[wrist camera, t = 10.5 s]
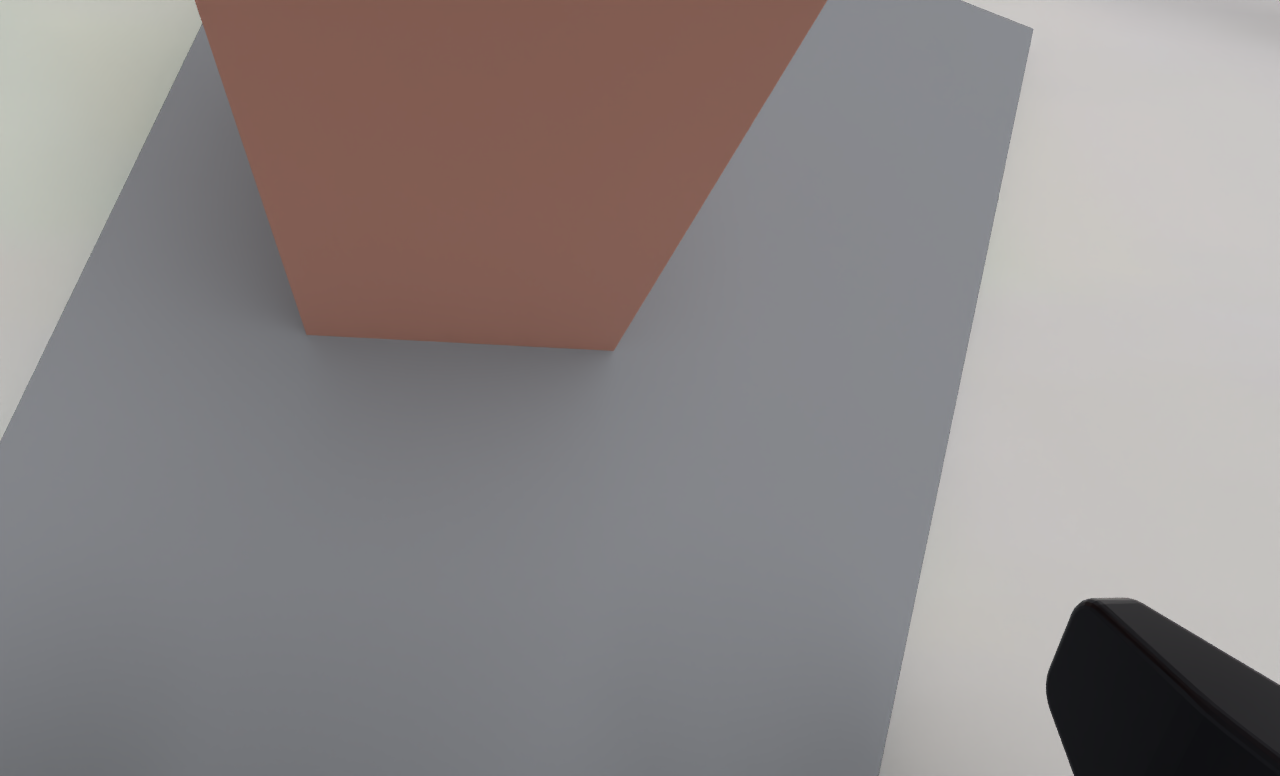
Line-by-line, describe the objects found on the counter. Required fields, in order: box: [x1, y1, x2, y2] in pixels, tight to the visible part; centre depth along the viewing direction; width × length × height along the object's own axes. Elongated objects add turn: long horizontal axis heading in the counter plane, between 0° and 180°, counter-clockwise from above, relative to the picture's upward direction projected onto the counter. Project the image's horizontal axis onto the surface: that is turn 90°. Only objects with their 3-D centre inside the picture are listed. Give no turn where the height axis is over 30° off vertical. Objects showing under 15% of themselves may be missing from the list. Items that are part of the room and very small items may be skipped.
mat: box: [0, 0, 1033, 776], centre depth 16 cm, size 20×13×1 cm, turn 164°
